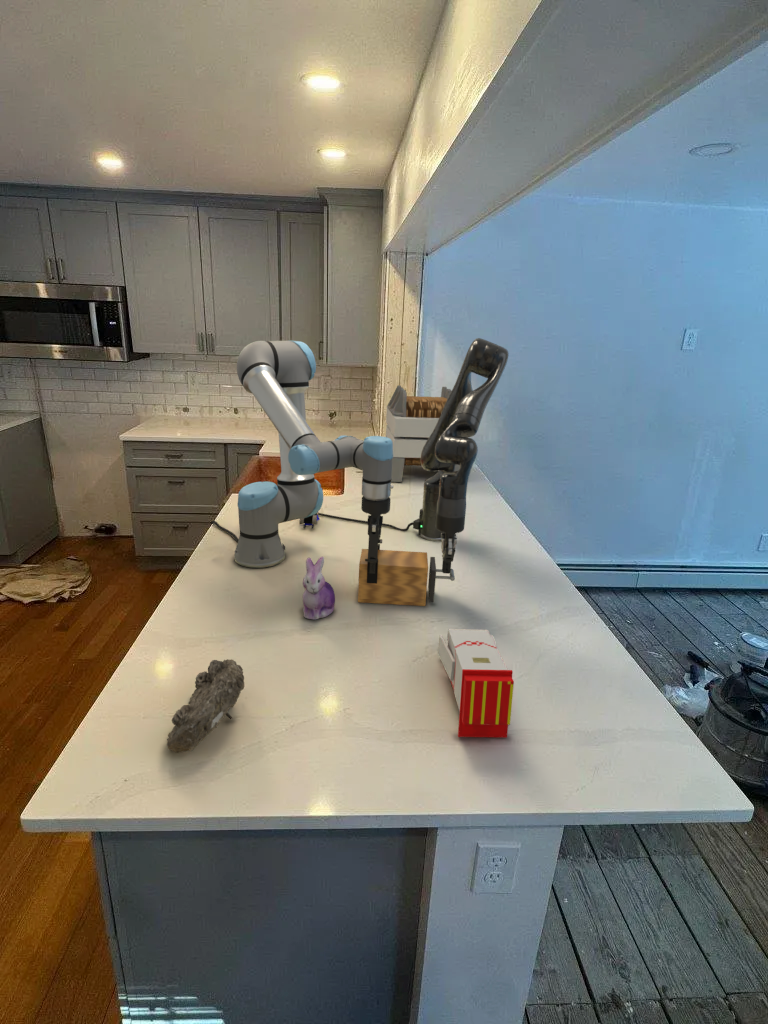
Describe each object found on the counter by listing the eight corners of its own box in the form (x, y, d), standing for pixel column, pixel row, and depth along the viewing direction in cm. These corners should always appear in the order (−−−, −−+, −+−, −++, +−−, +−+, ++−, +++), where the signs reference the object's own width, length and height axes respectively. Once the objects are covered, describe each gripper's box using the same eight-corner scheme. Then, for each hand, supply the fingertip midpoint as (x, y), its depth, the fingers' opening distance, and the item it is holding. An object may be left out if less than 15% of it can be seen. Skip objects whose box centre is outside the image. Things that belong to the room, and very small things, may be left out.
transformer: (382, 463, 289) (386, 382, 275) (445, 464, 293) (451, 384, 279) (390, 482, 257) (394, 392, 243) (460, 483, 261) (468, 394, 247)
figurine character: (317, 534, 199) (321, 515, 212) (317, 515, 196) (321, 497, 209) (298, 534, 199) (303, 515, 212) (298, 515, 195) (302, 496, 209)
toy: (488, 613, 130) (523, 677, 101) (484, 667, 133) (517, 744, 104) (435, 612, 130) (455, 676, 101) (432, 666, 133) (451, 743, 103)
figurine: (308, 624, 140) (307, 569, 135) (294, 605, 149) (293, 553, 144) (343, 617, 145) (344, 563, 139) (327, 599, 153) (328, 548, 148)
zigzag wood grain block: (424, 589, 161) (427, 552, 157) (425, 606, 152) (428, 567, 148) (360, 585, 162) (362, 548, 158) (357, 602, 152) (359, 563, 149)
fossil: (192, 660, 117) (244, 628, 112) (224, 691, 120) (276, 661, 115) (142, 746, 98) (202, 712, 93) (182, 779, 101) (242, 748, 96)
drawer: (451, 588, 160) (453, 558, 157) (453, 603, 152) (456, 571, 149) (372, 583, 161) (374, 553, 158) (371, 598, 153) (372, 566, 149)
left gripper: (389, 511, 137) (385, 594, 144) (391, 484, 158) (388, 557, 165) (358, 510, 137) (355, 592, 144) (364, 483, 158) (362, 556, 166)
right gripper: (468, 521, 142) (462, 583, 147) (463, 504, 154) (457, 562, 160) (438, 520, 142) (433, 582, 148) (435, 503, 154) (431, 561, 160)
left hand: (373, 573), depth 155 cm, fingers closed on zigzag wood grain block, 10 cm apart
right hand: (446, 572), depth 154 cm, fingers closed
